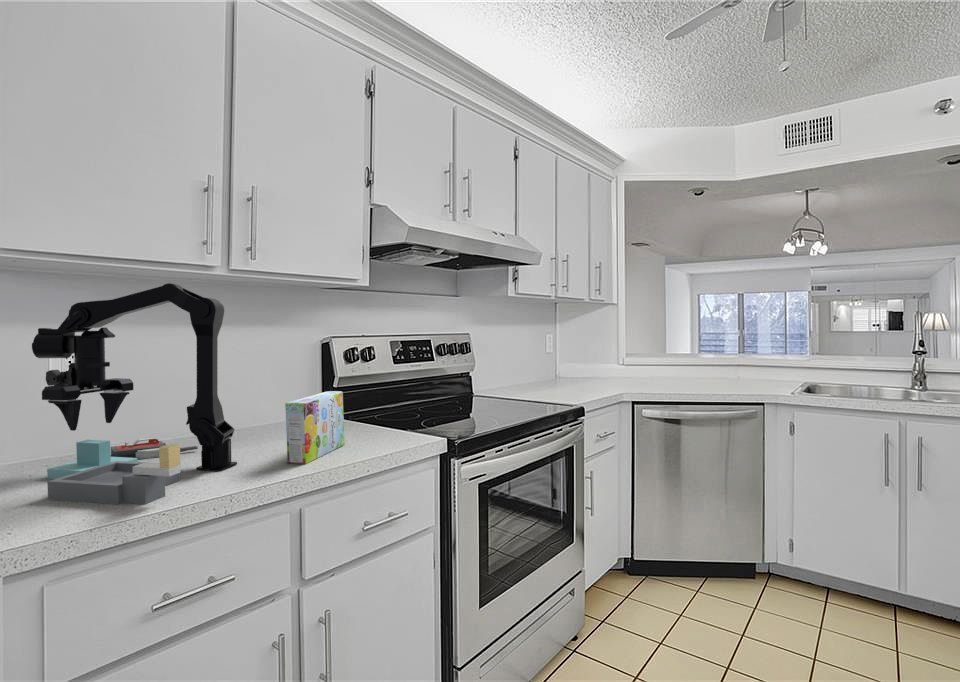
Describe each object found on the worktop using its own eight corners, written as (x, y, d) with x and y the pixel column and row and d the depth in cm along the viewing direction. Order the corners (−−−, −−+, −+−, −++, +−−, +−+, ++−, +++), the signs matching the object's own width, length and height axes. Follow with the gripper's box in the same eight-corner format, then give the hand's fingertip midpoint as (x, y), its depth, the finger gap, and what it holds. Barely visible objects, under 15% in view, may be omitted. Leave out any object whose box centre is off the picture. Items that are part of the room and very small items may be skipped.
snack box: (326, 444, 156) (325, 390, 155) (345, 445, 155) (344, 391, 154) (285, 463, 135) (284, 401, 135) (306, 464, 134) (305, 402, 133)
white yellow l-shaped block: (144, 470, 110) (144, 442, 110) (180, 472, 108) (179, 444, 108) (132, 474, 107) (131, 445, 107) (169, 476, 105) (168, 447, 105)
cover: (94, 466, 135) (94, 435, 135) (137, 468, 133) (136, 437, 132) (47, 480, 123) (46, 446, 123) (93, 483, 121) (92, 448, 120)
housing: (116, 476, 124) (116, 454, 124) (200, 481, 120) (199, 458, 120) (48, 499, 109) (47, 473, 108) (141, 505, 104) (140, 479, 104)
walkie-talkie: (107, 465, 135) (198, 453, 147) (107, 447, 135) (198, 436, 147) (105, 458, 142) (192, 447, 154) (104, 441, 142) (192, 431, 154)
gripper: (95, 355, 137) (97, 418, 138) (19, 360, 119) (21, 433, 120) (134, 355, 135) (135, 419, 136) (63, 361, 117) (65, 435, 118)
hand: (91, 426), depth 127 cm, fingers open, 9 cm apart
